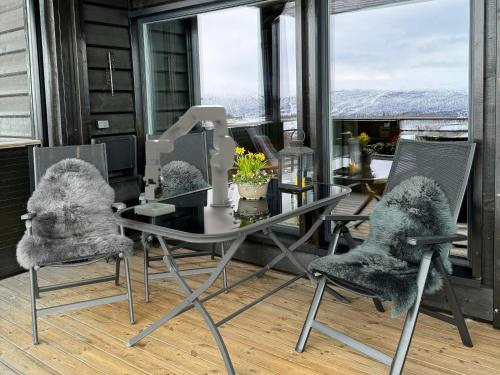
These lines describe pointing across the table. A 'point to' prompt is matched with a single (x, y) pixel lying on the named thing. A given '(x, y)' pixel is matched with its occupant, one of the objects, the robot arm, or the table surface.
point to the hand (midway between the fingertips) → (154, 193)
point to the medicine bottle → (152, 191)
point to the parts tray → (155, 209)
